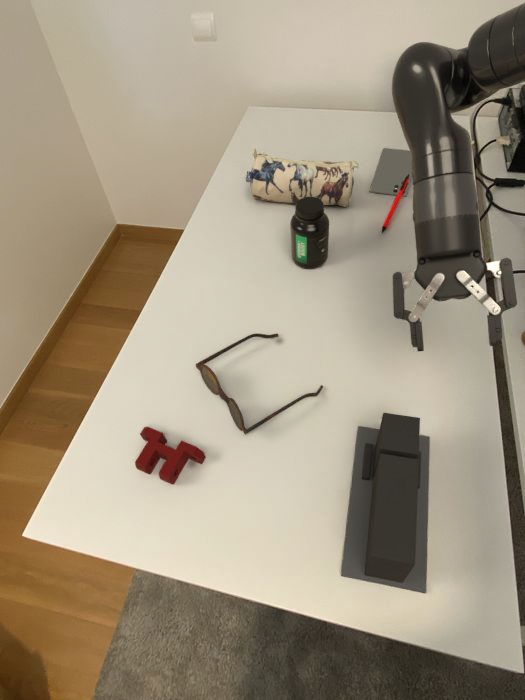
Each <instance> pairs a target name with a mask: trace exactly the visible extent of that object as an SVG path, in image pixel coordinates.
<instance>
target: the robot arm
mask: <svg viewBox="0 0 525 700" xmlns="http://www.w3.org/2000/svg"><path fill="white" fill-rule="evenodd" d="M395 63H396V64H395V67H394V69H393V73H392V79H391V96H392V100H393V101H392V102H393V105H394V110H395V113H396V115H397V119H398V121H399V124H400V128H401V131H402V133H403V137H404V139H405V142H406V144H407V146H408V149H409V151H410V152H411V167H412V177H411V180H412V191H413V192H412V221H413V228H414V239H415V251H416V263H417V264H416V269H415V270H414V271H406V272H401V271H396V272H393V274H392V304H393V305H392V307H393V317H394V318H395V319H398V320H401V321H402V320H403V321H406V322H407V323H408V324H409V332H410V345H411V346H412V348H417V349H416V350H417V352H424V351H425V345H424V336H423V335H424V333H423V323H422V321H421V318H420V317H421V316H422V314H423V313H424V311H425V310H426V309H427V307H428V306H429V304H430V302H431V301H432V300H434V301H436V302H446V301H449V300H452V299H453V300H465V299H467V298H470V297H471V296H473V298H475V299H476V300H477V301H478V302H479V304H481V305H482V306H483V307H484V308H485V309H486V311H488V314H487V316H486V318H487V332H488V345H489V346H490V347H497V345H498V344H497V343H498V342H500V341H502V339H503V328H502V327H503V326H502V314H503V313H504V312H506V311H508V310H510V309H514V308H516V306H517V305H518V298H517V291H516V285H515V283H516V282H515V276H514V270H513V262H512V259H510V258H509V257H503V258H501V259H500V260H494V261H489V262H486V261H485V260H484V258H483V254H482V252H483V251H482V239H481V226H480V212H479V211H480V203H479V198H478V190H477V186H476V182H475V181H476V180H475V175H474V174H475V173H474V161H473V148H472V147H473V146H472V139H471V135H470V133H469V131H468V130H467V129H466V128H465V127H463V126H462V125H460V124H459V123H458V122H456V121H455V120H454V119H453V116H452V114H455V113H459V112H462V111H465V110H467V109H470V108H472V107H474V106H476V105H478V104H479V103H481V102H482V101H485V100H486V99H488V98H490V97H491V96H493V95H494V94H496V93H497V92H499V91H500V90H503V89H508V88H511V87H513V86H516V85H520V84H522V83H525V2H522V3H521V4H519V5H517V6H515V7H513V8H510V9H509V10H506V11H505V12H502V13H500V14H498V15H495V16H494V17H492V18H490V19H488V20H487V21H485V22H484V23H482V24H481V25H479V26H478V27H477V28H476V30H475V31H474V32H473V33H472V34H471V36H470V39H469V41H468V43H467V46H465V47H463V48H452V47H448V46H444V45H442V44H438V43H434V42H430V41H420V42H415V43H413V44H411V45H410V46H408V47H407V48H405V50H404V51H403V52H402V53H400V56H399V57H398V59H397V61H396V62H395ZM488 271H489V272H491V273H492V275H493V277H494V278H496V279H500V286H501V293H502V300H499V301H497V302H496V301H494V299H493V298H492V297H491V296H490V295H489V294H488V293H487V292H486V291H485V290H484V289H483V288H482V287H481V285H480V283H481V281H482V280H483V279H484V277H485V275H486V274H487V272H488ZM414 280H415V282H416V283H417V284H418V285H419V286H420V287H421V288H422V289H423V290H424V292H423V293H422V295H421V296H420V298H419V299H418V301H417V302H416V304H415V306H414V307H413V309H412V310H408V309H406V306H405V305H406V304H405V289H408V288H410V285H411V282H412V281H414Z"/></svg>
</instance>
